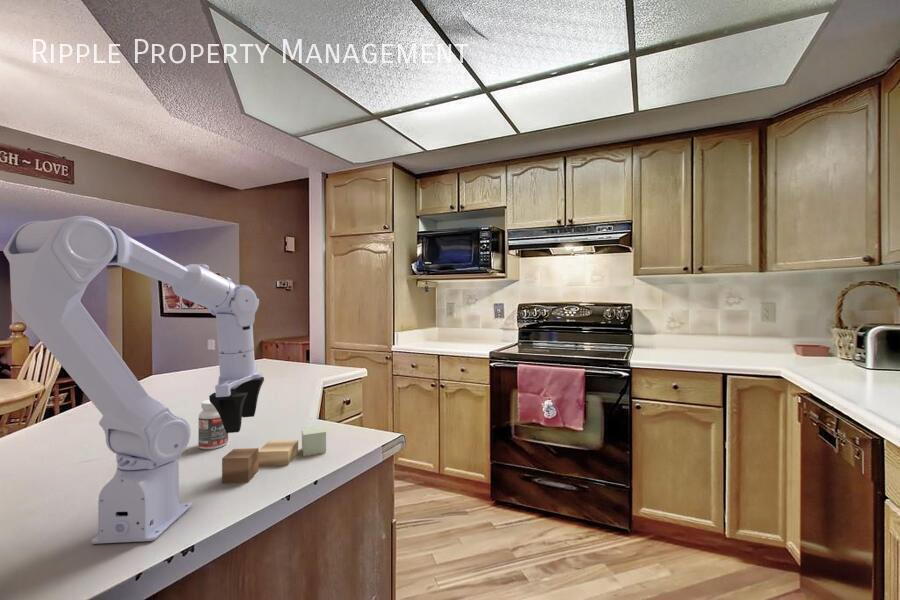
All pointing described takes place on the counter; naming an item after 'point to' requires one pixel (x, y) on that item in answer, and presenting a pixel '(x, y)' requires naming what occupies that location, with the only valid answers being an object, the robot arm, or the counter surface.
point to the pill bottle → (211, 428)
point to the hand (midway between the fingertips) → (241, 423)
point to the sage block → (313, 440)
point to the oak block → (278, 452)
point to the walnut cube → (240, 465)
